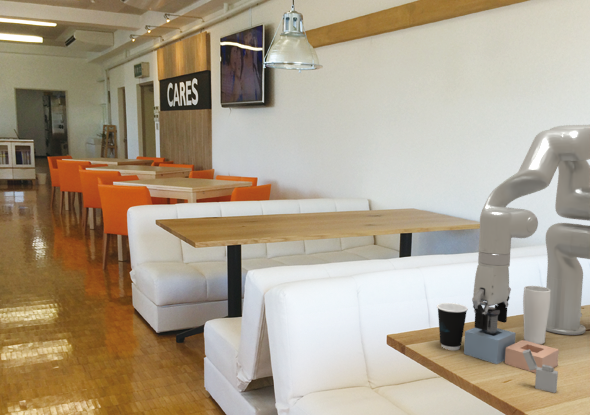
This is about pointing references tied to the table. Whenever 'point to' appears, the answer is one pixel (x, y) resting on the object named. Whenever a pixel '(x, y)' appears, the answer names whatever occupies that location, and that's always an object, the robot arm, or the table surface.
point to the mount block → (539, 352)
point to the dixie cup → (451, 324)
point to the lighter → (542, 374)
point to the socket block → (488, 344)
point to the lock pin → (492, 321)
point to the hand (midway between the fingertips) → (490, 325)
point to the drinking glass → (536, 313)
